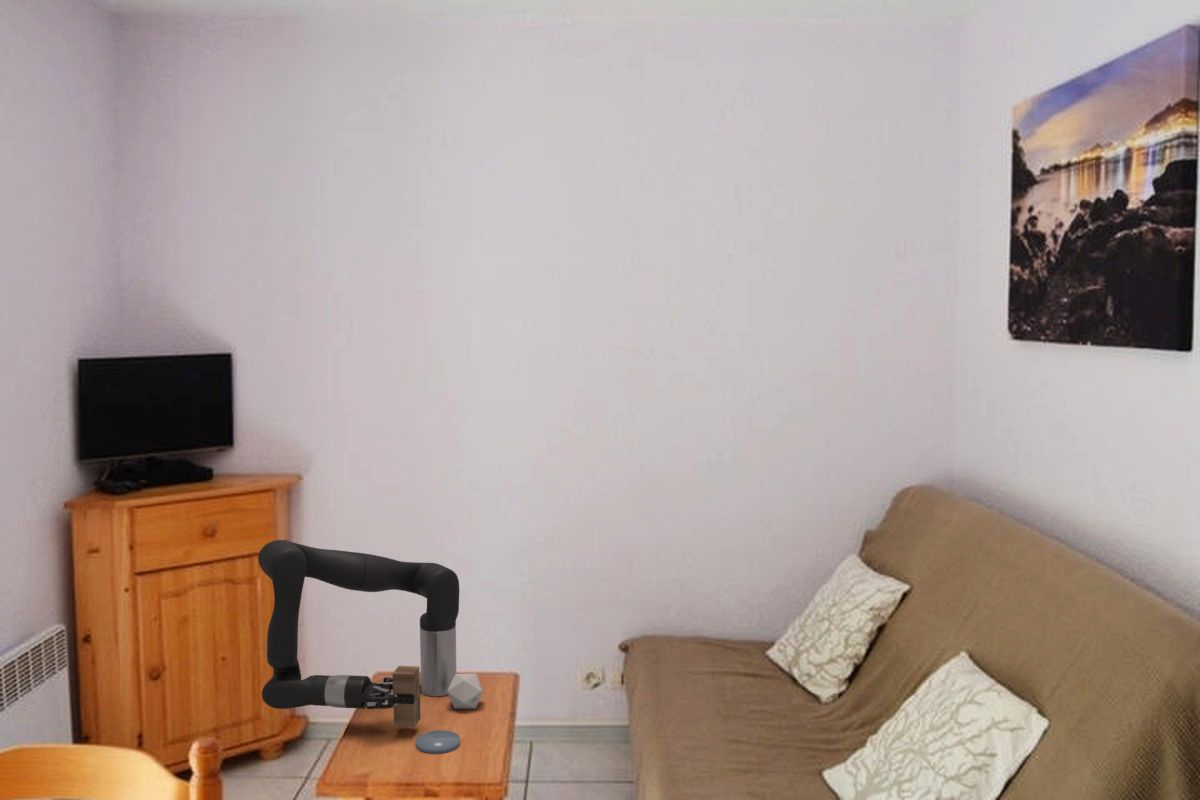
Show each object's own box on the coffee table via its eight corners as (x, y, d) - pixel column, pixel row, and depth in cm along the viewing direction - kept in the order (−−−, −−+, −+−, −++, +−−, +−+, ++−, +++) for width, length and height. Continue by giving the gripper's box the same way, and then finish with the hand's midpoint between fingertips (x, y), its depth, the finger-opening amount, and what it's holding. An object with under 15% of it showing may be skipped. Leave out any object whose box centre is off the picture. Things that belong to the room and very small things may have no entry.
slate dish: (415, 737, 256) (415, 732, 256) (458, 733, 258) (458, 728, 258) (417, 755, 247) (416, 750, 247) (461, 751, 249) (461, 746, 249)
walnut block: (400, 717, 262) (398, 665, 260) (420, 718, 261) (419, 666, 259) (393, 726, 257) (392, 673, 255) (414, 727, 256) (413, 674, 255)
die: (467, 719, 268) (489, 683, 271) (437, 699, 269) (459, 664, 272) (471, 718, 277) (492, 683, 279) (441, 698, 278) (463, 664, 280)
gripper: (336, 688, 252) (408, 691, 250) (357, 665, 266) (425, 668, 264) (338, 719, 253) (409, 722, 251) (358, 694, 267) (426, 697, 265)
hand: (417, 694), depth 258 cm, fingers closed on walnut block, 5 cm apart
